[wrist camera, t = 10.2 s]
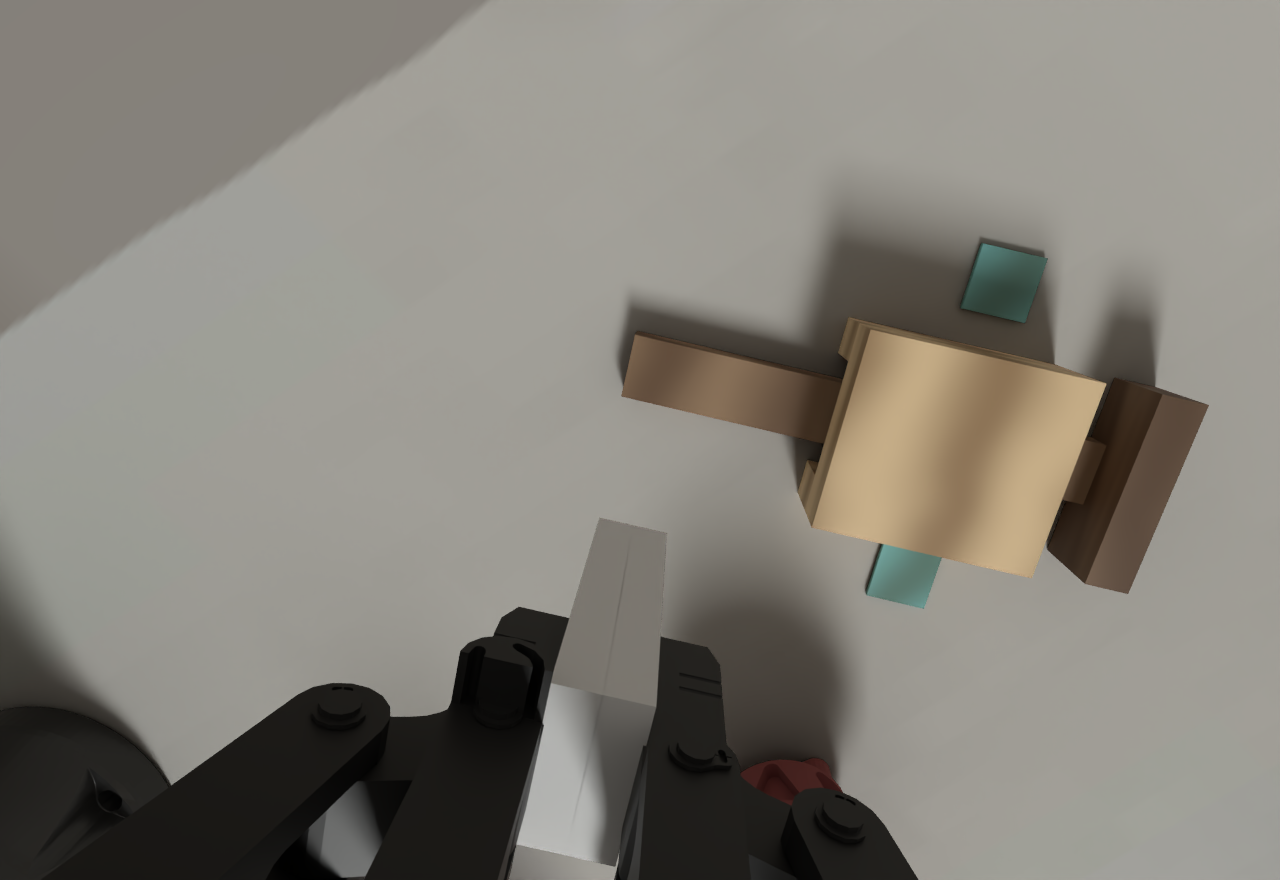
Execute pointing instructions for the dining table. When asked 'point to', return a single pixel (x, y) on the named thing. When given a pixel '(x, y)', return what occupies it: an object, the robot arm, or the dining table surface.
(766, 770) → the mechanical component
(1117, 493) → the wooden block assembly
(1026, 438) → the light wooden box
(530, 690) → the robot arm
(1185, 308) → the dining table surface
